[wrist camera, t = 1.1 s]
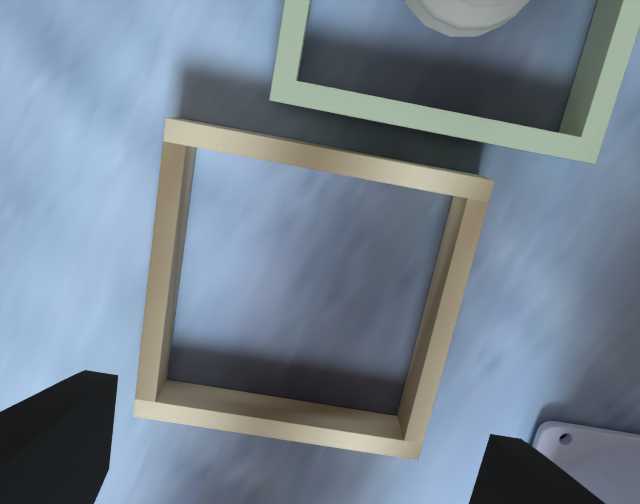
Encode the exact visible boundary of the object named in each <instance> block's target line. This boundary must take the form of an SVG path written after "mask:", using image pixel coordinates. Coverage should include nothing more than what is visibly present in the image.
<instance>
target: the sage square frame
mask: <svg viewBox="0 0 640 504" xmlns="http://www.w3.org/2000/svg"><path fill="white" fill-rule="evenodd" d="M310 6H311V0H285V4H284V10H283V16H282V23H281V29H280V35H279V42H278V48H277V54H276V61H275V67H274V73H273V80H272V86H271V93H270V99H269V100H271V101H274V102H279V103H284V104H289V105H294V106H300V107H305V108H310V109H315V110H320V111H325V112H330V113H335V114H340V115H346V116H351V117H356V118H361V119H366V120H371V121H376V122H381V123H386V124H392V125H397V126H402V127H407V128H412V129H417V130H422V131H427V132H432V133H438V134H443V135H448V136H453V137H458V138H463V139H468V140H473V141H478V142H484V143H489V144H494V145H499V146H504V147H509V148H514V149H519V150H524V151H530V152H535V153H540V154H545V155H550V156H555V157H560V158H565V159H570V160H576V161H582V162H587V163H593V164H596V161H597V158H598V154H599V151H600V148H601V145H602V142H603V139H604V136H605V132H606V129H607V126H608V123H609V120H610V117H611V114H612V111H613V107H614V104H615V101H616V98H617V95H618V92H619V89H620V86H621V82H622V79H623V76H624V73H625V70H626V67H627V64H628V61H629V57H630V54H631V51H632V48H633V45H634V42H635V39H636V35H637V32H638V29H639V26H640V0H598V1H597V4H596V8H595V11H594V15H593V18H592V21H591V25H590V28H589V31H588V35H587V38H586V41H585V45H584V48H583V52H582V55H581V58H580V62H579V65H578V68H577V72H576V75H575V78H574V82H573V85H572V89H571V92H570V95H569V99H568V102H567V105H566V109H565V112H564V115H563V119H562V122H561V126H560V129H559V132H558V133H557V132H552V131H547V130H542V129H537V128H532V127H526V126H521V125H516V124H511V123H506V122H501V121H496V120H491V119H486V118H481V117H476V116H471V115H466V114H461V113H456V112H451V111H446V110H441V109H436V108H431V107H426V106H421V105H416V104H411V103H406V102H401V101H396V100H391V99H386V98H381V97H376V96H371V95H366V94H360V93H355V92H350V91H345V90H340V89H335V88H330V87H325V86H320V85H315V84H310V83H305V82H300V81H298V77H299V71H300V65H301V59H302V54H303V48H304V42H305V36H306V30H307V24H308V18H309V12H310Z"/></svg>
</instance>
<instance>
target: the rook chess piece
mask: <svg viewBox="0 0 640 504" xmlns="http://www.w3.org/2000/svg"><path fill="white" fill-rule="evenodd" d="M529 1H530V0H405V3H406V5H407V6H408V7H409V8H410V9H411V10H412V12H413V13H414V14H415V15H416V16H417V17H418V18H419V19H420V21H421V22H422V23H423V24H424V25H425V26H427V27H429V28H431V29H434V30H436V31H438V32H440V33H443V34H445V35H447V36H449V37H478V36H480V35H482V34H484V33H487V32H489V31H491V30H493V29H496V28H498V27H500V26H503V25H504V24H505V23H506V22H507V21H508V20H510V19H512V18H514V17H515V16H516V15H517V13H518V12H519V11H520V10H521V9H522V8H523V7H524V6H525V5H526V4H527V3H528V2H529Z"/></svg>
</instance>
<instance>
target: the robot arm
mask: <svg viewBox="0 0 640 504" xmlns="http://www.w3.org/2000/svg"><path fill="white" fill-rule="evenodd" d="M117 383H118V375H113V374H106V373H100V372H93V371H87V370H85V371H82V372H80V373H77V374H75V375H73V376H71V377H69V378H67V379H65V380H63V381H61V382H59V383H57V384H55V385H53V386H51V387H49V388H47V389H45V390H43V391H41V392H39V393H37V394H35V395H33V396H31V397H29V398H27V399H25V400H23V401H21V402H19V403H17V404H15V405H13V406H11V407H9V408H7V409H5V410H3V411H1V412H0V504H94V502H95V500H96V498H97V495H98V493H99V491H100V488H101V486H102V484H103V482H104V479H105V477H106V475H107V472H108V470H109V463H110V453H111V443H112V433H113V423H114V413H115V403H116V393H117ZM565 433H568V434H567V436H566V437H565V438H563V439H559V438H560V436H561V435H563V434H565ZM469 504H640V435H638V434H632V433H626V432H619V431H613V430H607V429H601V428H594V427H588V426H582V425H576V424H570V423H563V422H557V421H547V422H544V423H543V424H541V425H540V426H539V428H538V430H537V433H536V436H535V439H534V442H533V445H532V446H531V445H529V444H528V443H526V442H525V441H523V440H522V439H519V438H512V437H506V436H500V435H493V434H490V437H489V440H488V443H487V447H486V450H485V453H484V456H483V460H482V463H481V466H480V469H479V473H478V476H477V479H476V482H475V485H474V489H473V492H472V495H471V498H470V502H469Z"/></svg>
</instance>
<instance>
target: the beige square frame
mask: <svg viewBox="0 0 640 504" xmlns="http://www.w3.org/2000/svg"><path fill="white" fill-rule="evenodd" d="M196 147H197V148H202V149H208V150H213V151H218V152H224V153H229V154H234V155H240V156H245V157H250V158H255V159H261V160H266V161H271V162H277V163H282V164H287V165H293V166H298V167H303V168H309V169H314V170H319V171H325V172H330V173H335V174H341V175H346V176H351V177H357V178H362V179H367V180H373V181H378V182H383V183H389V184H394V185H399V186H405V187H410V188H415V189H420V190H426V191H431V192H436V193H442V194H447V195H452V196H453V198H452V202H451V206H450V210H449V214H448V218H447V222H446V226H445V230H444V234H443V237H442V241H441V245H440V249H439V253H438V257H437V261H436V265H435V269H434V273H433V277H432V281H431V285H430V288H429V292H428V296H427V300H426V304H425V308H424V312H423V316H422V320H421V324H420V328H419V332H418V336H417V339H416V343H415V347H414V351H413V355H412V359H411V363H410V367H409V371H408V375H407V379H406V383H405V387H404V391H403V394H402V398H401V402H400V406H399V410H398V414H397V416H394V415H388V414H381V413H375V412H369V411H362V410H356V409H350V408H343V407H337V406H331V405H324V404H318V403H312V402H305V401H299V400H293V399H286V398H280V397H274V396H267V395H261V394H255V393H248V392H242V391H236V390H229V389H223V388H217V387H210V386H204V385H198V384H191V383H185V382H179V381H172V380H167V377H168V369H169V361H170V353H171V345H172V337H173V329H174V321H175V313H176V305H177V297H178V289H179V281H180V273H181V265H182V257H183V250H184V242H185V234H186V226H187V218H188V210H189V202H190V194H191V186H192V178H193V170H194V162H195V154H196ZM493 185H494V180H491V179H488V178H486V177H483V176H480V175H476V174H471V173H466V172H460V171H455V170H450V169H445V168H439V167H434V166H429V165H424V164H418V163H413V162H408V161H403V160H398V159H392V158H387V157H382V156H377V155H371V154H366V153H361V152H356V151H350V150H345V149H340V148H335V147H330V146H324V145H319V144H314V143H309V142H303V141H298V140H293V139H288V138H282V137H277V136H272V135H267V134H262V133H256V132H251V131H246V130H241V129H235V128H230V127H225V126H220V125H214V124H209V123H204V122H199V121H194V120H188V119H183V118H166V121H165V130H164V139H163V148H162V157H161V167H160V176H159V185H158V194H157V203H156V212H155V221H154V230H153V239H152V248H151V258H150V267H149V276H148V285H147V294H146V303H145V312H144V321H143V330H142V340H141V349H140V358H139V367H138V376H137V385H136V394H135V403H134V412H133V417H140V418H146V419H153V420H159V421H166V422H172V423H179V424H185V425H192V426H199V427H205V428H212V429H218V430H225V431H231V432H238V433H244V434H251V435H257V436H264V437H271V438H277V439H284V440H290V441H297V442H303V443H310V444H316V445H323V446H329V447H336V448H343V449H349V450H356V451H362V452H369V453H375V454H382V455H388V456H395V457H401V458H408V459H415V460H419V456H420V452H421V449H422V445H423V441H424V438H425V434H426V430H427V427H428V423H429V419H430V416H431V412H432V408H433V405H434V401H435V397H436V394H437V390H438V386H439V383H440V379H441V375H442V372H443V368H444V365H445V361H446V357H447V354H448V350H449V346H450V343H451V339H452V335H453V332H454V328H455V324H456V321H457V317H458V313H459V310H460V306H461V302H462V299H463V295H464V291H465V288H466V284H467V280H468V277H469V273H470V269H471V266H472V262H473V258H474V255H475V251H476V247H477V244H478V240H479V236H480V233H481V229H482V225H483V222H484V218H485V214H486V211H487V207H488V203H489V200H490V196H491V192H492V189H493Z"/></svg>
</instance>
